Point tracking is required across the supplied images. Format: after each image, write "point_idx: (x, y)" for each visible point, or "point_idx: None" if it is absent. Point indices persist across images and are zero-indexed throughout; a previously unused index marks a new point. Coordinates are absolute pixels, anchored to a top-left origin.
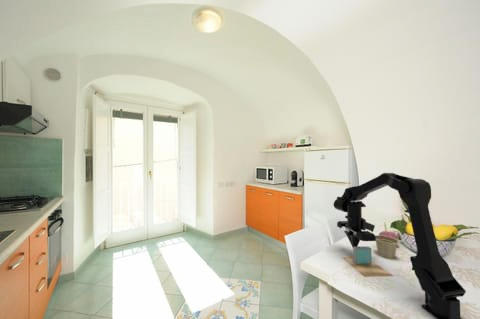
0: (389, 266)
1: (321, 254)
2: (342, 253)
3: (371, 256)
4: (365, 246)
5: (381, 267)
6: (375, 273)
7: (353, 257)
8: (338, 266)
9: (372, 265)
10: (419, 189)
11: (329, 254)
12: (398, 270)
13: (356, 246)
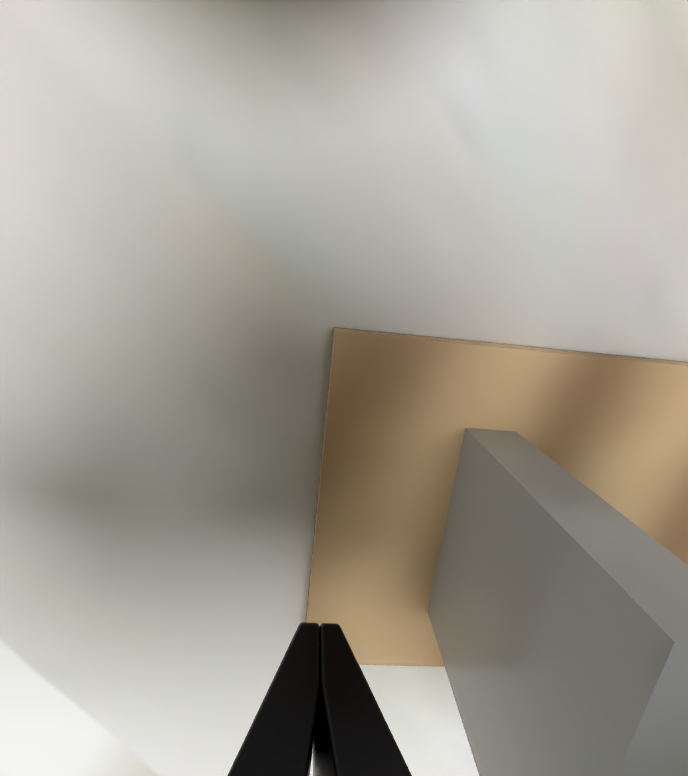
0: (561, 144)
1: (160, 759)
2: (131, 538)
3: (591, 490)
4: (638, 724)
5: (611, 362)
6: (670, 540)
7: (449, 677)
8: (412, 725)
9: (537, 439)
10: None
11: (161, 690)
12: (677, 110)
13: (364, 700)
